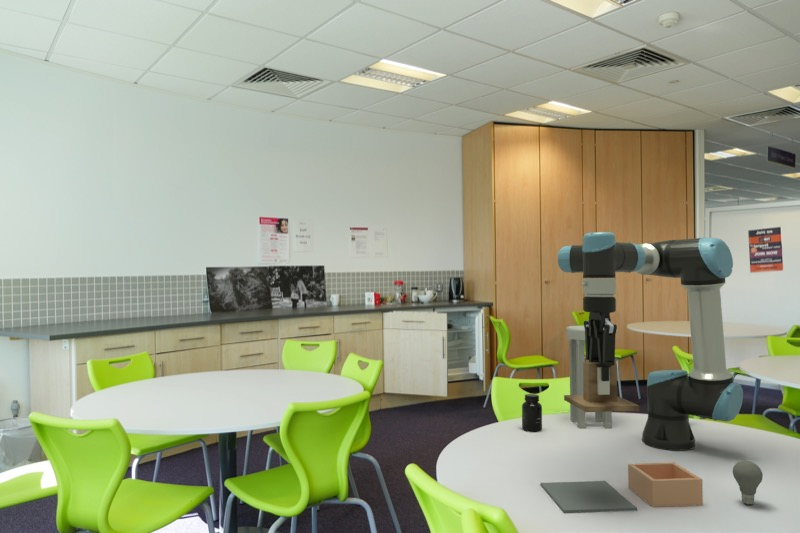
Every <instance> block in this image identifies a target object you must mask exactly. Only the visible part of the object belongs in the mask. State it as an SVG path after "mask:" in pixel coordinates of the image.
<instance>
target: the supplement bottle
mask: <svg viewBox="0 0 800 533" xmlns="http://www.w3.org/2000/svg"><path fill="white" fill-rule="evenodd" d="M539 395H540V394H535V393H526V394H524V401H525V402H523V403H522V405H521V428H522V430H524V431H525V432H530V433H538V432H541V431H542V430H543V407H542V406H543V405H542V403H540V396H539Z"/></svg>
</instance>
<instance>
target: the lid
mask: <svg viewBox="0 0 800 533" xmlns="http://www.w3.org/2000/svg"><path fill="white" fill-rule="evenodd" d="M596 365H599V362H589V361H585V362H583V395H570V394H563V400H564V401H565V402H567V403H569V404H572V405H574V406H576V407H577V408H579V409H581V410H583V411H584V412H585V413H590V412H591V413H595V412H608V411H612V412H640V405H638V404H636V403H634V402H632V401H630V400H627V399H625V398H623V397H621V396H618V364H617V362H616V363H615V365H614V366H611V367H610V395H598V394H597V367H596Z"/></svg>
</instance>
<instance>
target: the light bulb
mask: <svg viewBox="0 0 800 533" xmlns="http://www.w3.org/2000/svg"><path fill="white" fill-rule="evenodd" d="M732 475H733V478H734V479H735V482H736V483H737V485H738V488H739V491H740V492H741V502H742V503H744V504H745V503H746V505H749V504H751V505H754V504H755V495H756V493H757V489H758V487H759V486H760V484H761V483H762V482H763V477H764V476H763V475H764V474H763V471H762V469H761V467H760V466H759V465H758V464H757V463H755V462H754V461H751V460H747V459H742V460H739V461H737V462H735V464H734V466H733V467H732Z"/></svg>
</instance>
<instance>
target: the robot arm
mask: <svg viewBox="0 0 800 533" xmlns="http://www.w3.org/2000/svg"><path fill="white" fill-rule="evenodd" d="M557 265H558V267H559V269H560V270H561V271H562V272H564V273H571V274H577V273H579V274H580V273H583V274H582V278H583V279H582V282H581V286H582V289H583V291H582V294H583V295H585V296H584V297H583V298H582V310H583V312H585V313H589V314H588V320H584V321H583V326H584V328H585V340H584V347H585V360H586V361H588V362H599V365H596V367H597V394H598V395H610V367H611V366H614V365H615V362H616V361H615V360H616V333H617V328H618V325H617V324H615V323H612V321H611V320H612V318H611V315H610V314H611V313H615V312H616V311H617V309H616V308H617V305H616V304H617V299H616V297H615V295H616V294H617V288H616V287H617V285H616V284H617V281H616V280H617V279H616V273H637V274H639V275H643V276H647V275H648V276H655V277H656V276H657V277H662V278H663V277H664V278H673V279H674V278H675V279H678V278H679V279H680V286H682V287H683V288H685V289H686V291H687V305H688V316H689V327H690V328H689V329H690V330H689V331H690V341H691V353H692V364H693V365H692V366H693V368H692V369H691V370H690V371H689V372H688V371H687V370H685V369H666V370H654V371H650V372H649V374H647V383H646V388H647V391H646V394H647V419H646V422H645V425H644V428H643V430H642V433H641V434H642V439H641V440H642V442H643V444H645V445H647V446H650V447H653V448H657V449H662V450H670V451H689V450H692V449H694V448H695V447H696V440H695V439H696V438H695V436H694V433H693V430H692V428H691V424H690V420H689V421H688V415H689V416H693V417H699V418H703V419H708V420H712V421H720V422H732V421H733V420H734V419H736V417H737V416H738V415H739V413H740V411H741V408H742V404H743V399H744V389H743V388H742V385H741V384H740V383H738V382H737V381H734V376H733V373H732V372H731V371H729V370H728V369H727V362H726V360H727V359H726V348H725V337H724V324H723V323H724V322H723V312H722V299H721V298H722V297H721V295H722V294H721V288H722V287H723V286H724V285H725V284H726V278H728V277H730V276H731V275H732V273H733V266H734V260H733V256H732V252H731V249H730V248H729V245H727V243H726V242H725V241H724V240H723V239H720V238H718V237H697V238H685V239H684V238H683V239H681V238H680V239H668V240H661V241H656V242H649V243H640V244H638V243H637V244H636V243H632V242H617V241H616V235H615V234H614V233H613V232H608V231H598V232H587V233H585V234H584V235H583V238H582V244H577V245H573V244H571V245H566V246H563V247H561V248H560V250H559V251H558V253H557Z"/></svg>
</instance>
